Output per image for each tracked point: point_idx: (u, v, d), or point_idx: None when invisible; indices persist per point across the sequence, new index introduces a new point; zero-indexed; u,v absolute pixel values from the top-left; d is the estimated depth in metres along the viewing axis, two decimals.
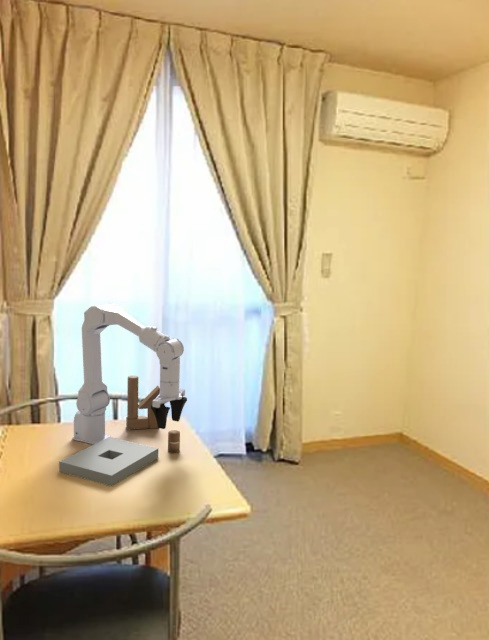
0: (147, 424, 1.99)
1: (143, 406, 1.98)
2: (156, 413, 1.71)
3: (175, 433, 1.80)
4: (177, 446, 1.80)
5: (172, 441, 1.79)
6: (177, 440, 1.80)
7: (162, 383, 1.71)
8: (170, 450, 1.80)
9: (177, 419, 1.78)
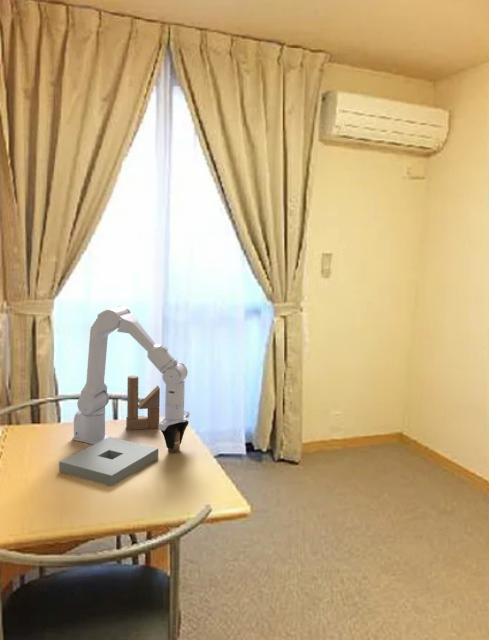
0: (147, 424, 1.99)
1: (143, 406, 1.98)
2: (165, 434, 1.78)
3: None
4: (177, 446, 1.80)
5: None
6: (177, 440, 1.80)
7: (167, 406, 1.77)
8: (170, 450, 1.80)
9: None
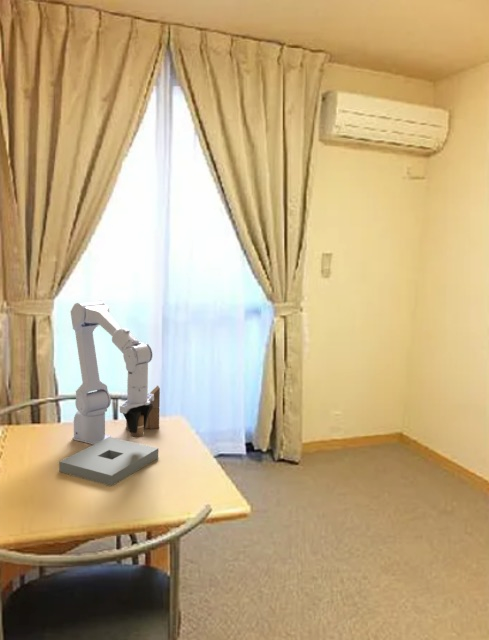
0: (147, 424, 1.99)
1: None
2: (127, 417, 1.70)
3: (139, 417, 1.71)
4: (141, 430, 1.72)
5: None
6: (141, 424, 1.72)
7: (130, 388, 1.69)
8: (133, 434, 1.72)
9: None
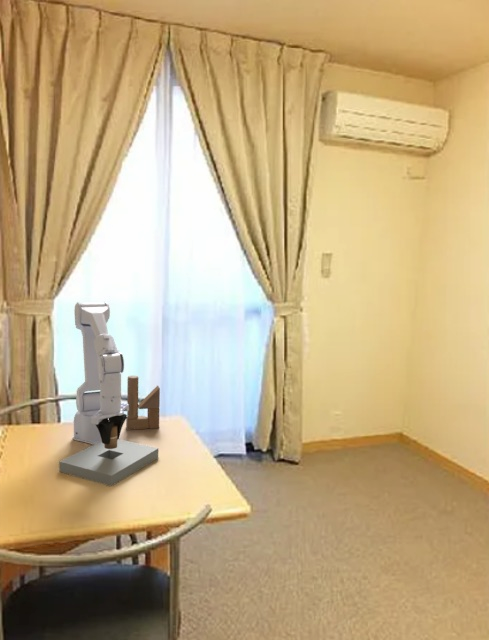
0: (147, 424, 1.99)
1: (143, 406, 1.98)
2: (100, 428, 1.66)
3: (112, 427, 1.67)
4: (114, 441, 1.67)
5: None
6: (114, 435, 1.67)
7: (102, 398, 1.64)
8: (106, 446, 1.67)
9: None
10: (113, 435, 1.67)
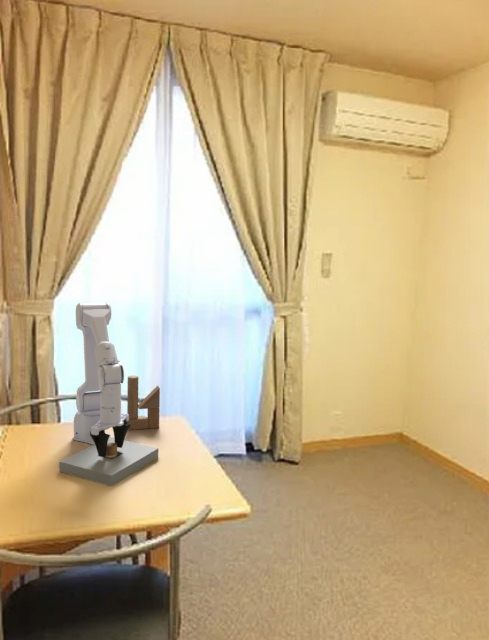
0: (147, 424, 1.99)
1: (143, 406, 1.98)
2: (96, 440, 1.65)
3: (112, 446, 1.68)
4: None
5: (108, 454, 1.67)
6: (114, 453, 1.68)
7: (102, 409, 1.65)
8: None
9: (120, 445, 1.72)
10: (113, 453, 1.68)
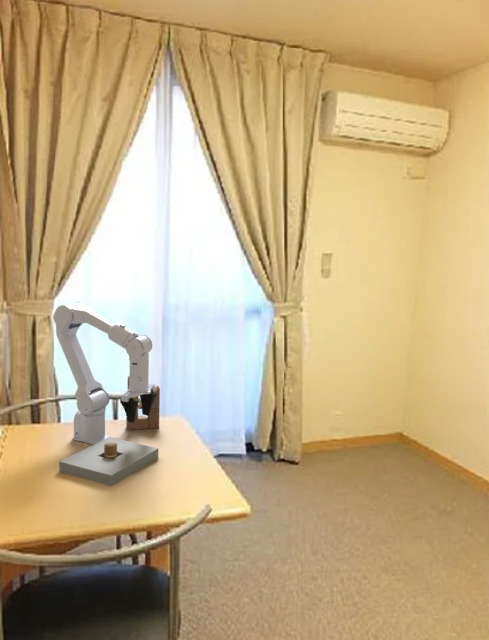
0: (147, 424, 1.99)
1: None
2: (125, 407, 1.77)
3: (112, 446, 1.68)
4: None
5: (108, 454, 1.67)
6: (113, 453, 1.68)
7: (131, 378, 1.77)
8: None
9: (147, 413, 1.84)
10: (113, 453, 1.68)
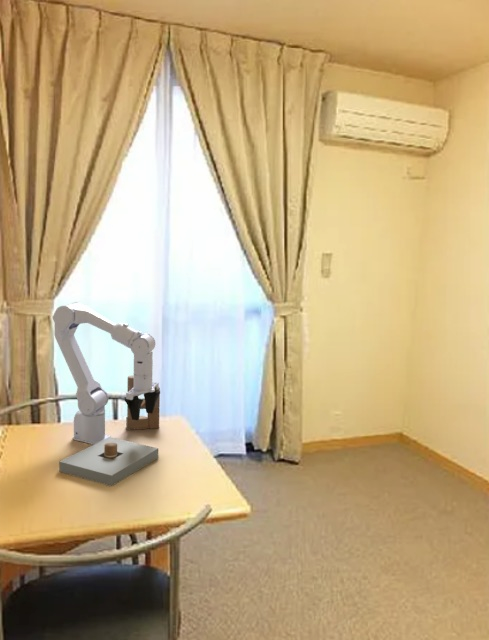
0: (147, 424, 1.99)
1: (143, 406, 1.98)
2: (130, 405, 1.79)
3: (112, 446, 1.68)
4: None
5: (108, 454, 1.67)
6: (114, 453, 1.68)
7: (135, 376, 1.80)
8: None
9: (151, 411, 1.87)
10: (113, 453, 1.68)
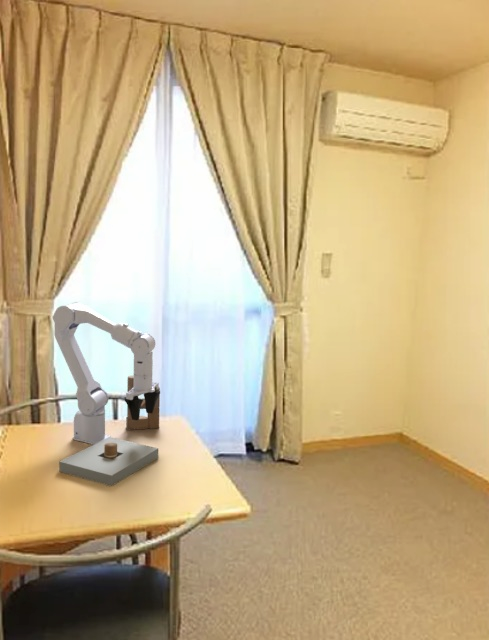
0: (147, 424, 1.99)
1: (143, 406, 1.98)
2: (130, 405, 1.79)
3: (112, 446, 1.68)
4: None
5: (108, 454, 1.67)
6: (114, 453, 1.68)
7: (135, 376, 1.80)
8: None
9: (151, 411, 1.87)
10: (113, 453, 1.68)
